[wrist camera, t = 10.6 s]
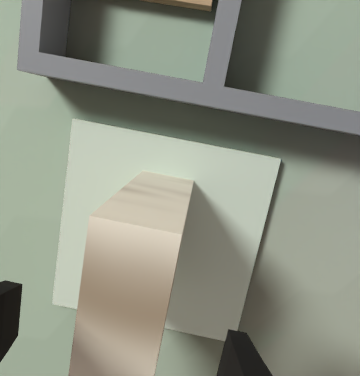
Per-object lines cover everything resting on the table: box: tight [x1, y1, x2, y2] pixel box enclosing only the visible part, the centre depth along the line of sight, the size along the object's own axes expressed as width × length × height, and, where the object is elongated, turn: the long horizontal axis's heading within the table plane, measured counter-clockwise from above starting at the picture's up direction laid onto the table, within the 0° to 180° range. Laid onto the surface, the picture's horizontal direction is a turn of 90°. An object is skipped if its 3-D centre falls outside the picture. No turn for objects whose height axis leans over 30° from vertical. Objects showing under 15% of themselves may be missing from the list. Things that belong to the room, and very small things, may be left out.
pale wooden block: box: [69, 171, 194, 376], centre depth 16 cm, size 7×3×9 cm, turn 169°
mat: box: [52, 118, 281, 341], centre depth 20 cm, size 12×12×1 cm
